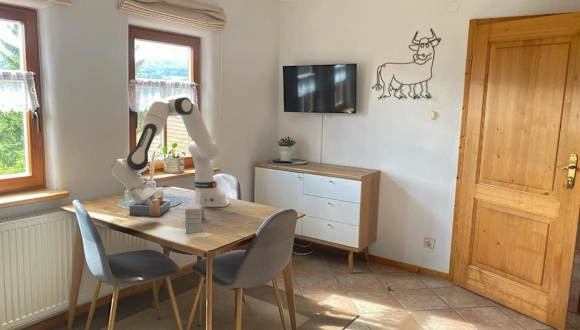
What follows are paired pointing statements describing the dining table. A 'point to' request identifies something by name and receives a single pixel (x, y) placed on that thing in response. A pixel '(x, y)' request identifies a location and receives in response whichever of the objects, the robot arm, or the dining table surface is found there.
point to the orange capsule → (154, 207)
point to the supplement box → (193, 218)
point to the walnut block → (159, 200)
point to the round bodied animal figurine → (202, 211)
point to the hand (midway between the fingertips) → (155, 204)
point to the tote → (144, 208)
